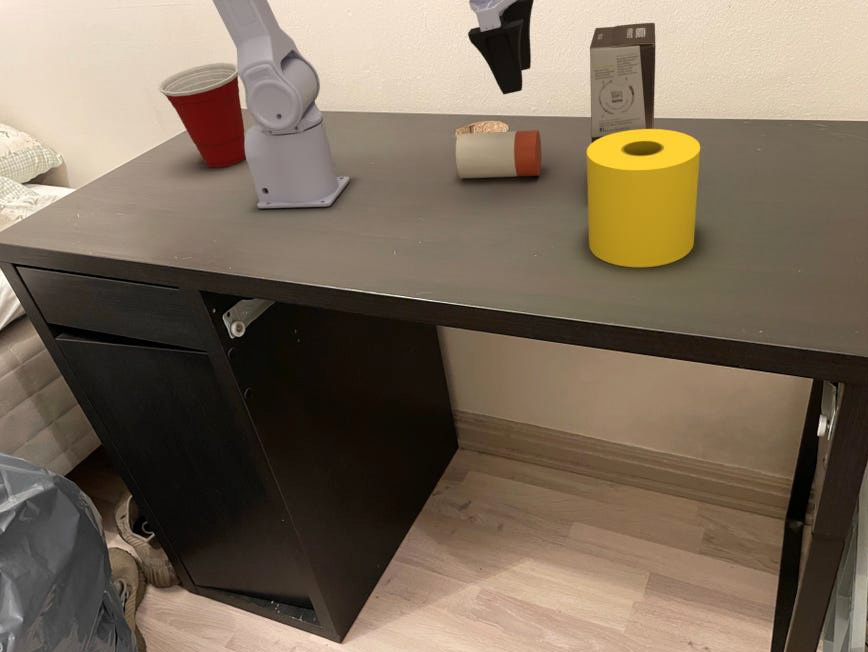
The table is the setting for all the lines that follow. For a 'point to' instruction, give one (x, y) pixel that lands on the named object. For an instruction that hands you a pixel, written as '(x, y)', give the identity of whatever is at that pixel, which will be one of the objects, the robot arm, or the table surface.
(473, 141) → the container
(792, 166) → the table surface
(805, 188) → the table surface
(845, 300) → the table surface
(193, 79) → the plastic cup
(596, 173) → the yellow paper roll
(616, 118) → the coffee box
